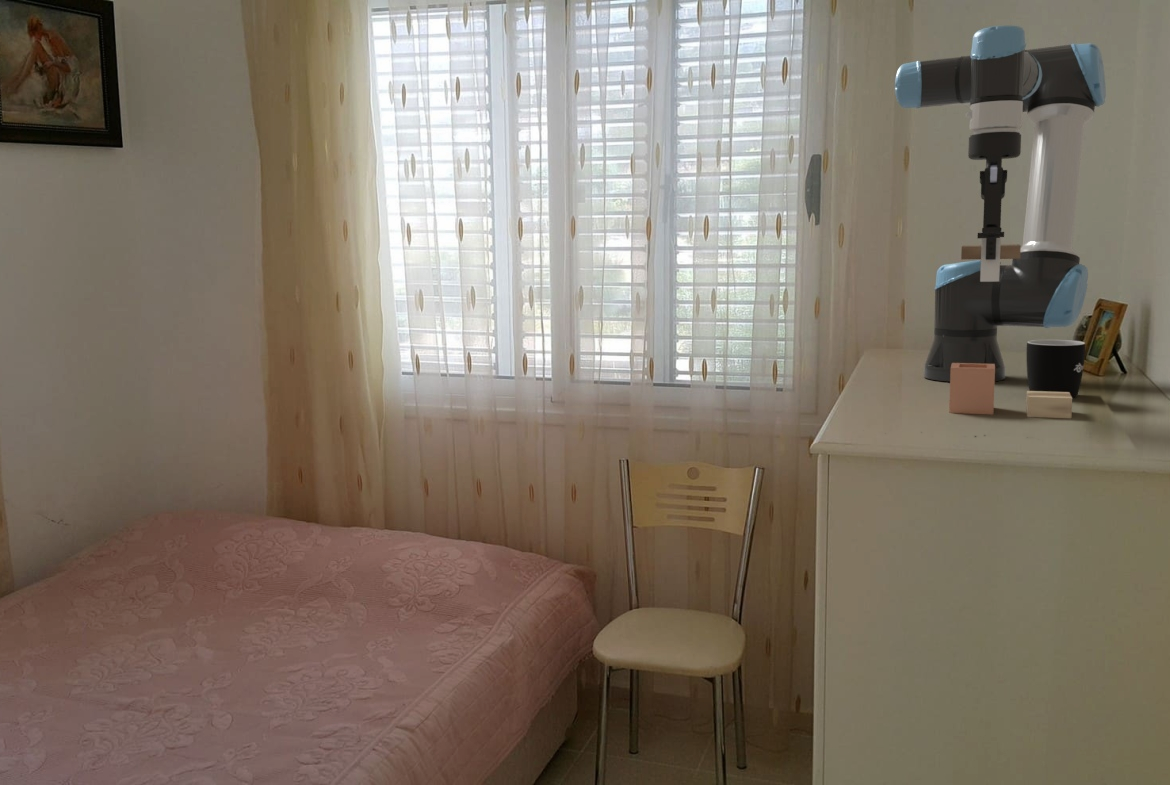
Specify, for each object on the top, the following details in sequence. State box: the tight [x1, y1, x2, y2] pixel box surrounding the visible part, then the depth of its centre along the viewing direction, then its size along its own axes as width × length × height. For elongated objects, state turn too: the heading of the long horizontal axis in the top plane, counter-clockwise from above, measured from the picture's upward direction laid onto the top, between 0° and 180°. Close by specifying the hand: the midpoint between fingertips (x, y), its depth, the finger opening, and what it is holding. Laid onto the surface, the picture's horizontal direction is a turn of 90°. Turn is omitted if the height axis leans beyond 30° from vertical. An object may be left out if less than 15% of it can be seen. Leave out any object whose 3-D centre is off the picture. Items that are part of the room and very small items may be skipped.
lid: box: [960, 244, 1022, 260], centre depth 159 cm, size 8×8×2 cm
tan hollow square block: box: [948, 363, 996, 415], centre depth 160 cm, size 6×6×8 cm
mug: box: [1026, 339, 1086, 400], centre depth 172 cm, size 12×9×10 cm
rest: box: [1025, 390, 1073, 419], centre depth 155 cm, size 6×6×4 cm
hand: (989, 279), depth 160 cm, fingers closed on lid, 8 cm apart
